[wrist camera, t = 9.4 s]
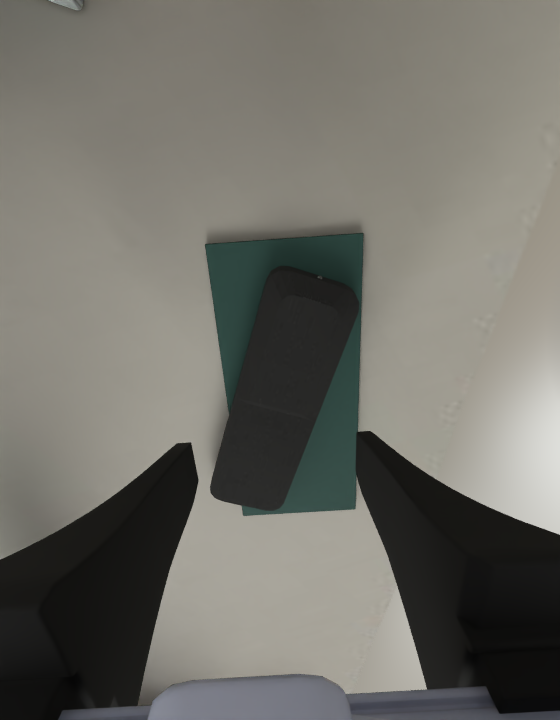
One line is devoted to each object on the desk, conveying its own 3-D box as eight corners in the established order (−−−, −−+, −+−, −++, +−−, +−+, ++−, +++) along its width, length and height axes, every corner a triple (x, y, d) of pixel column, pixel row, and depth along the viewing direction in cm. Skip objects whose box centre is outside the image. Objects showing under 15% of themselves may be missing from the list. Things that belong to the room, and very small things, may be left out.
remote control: (279, 494, 20) (361, 288, 15) (279, 516, 18) (371, 293, 13) (211, 479, 20) (271, 259, 14) (205, 500, 18) (270, 261, 13)
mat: (354, 505, 20) (355, 509, 20) (243, 511, 20) (243, 516, 20) (361, 233, 14) (363, 232, 14) (206, 244, 15) (204, 244, 14)
